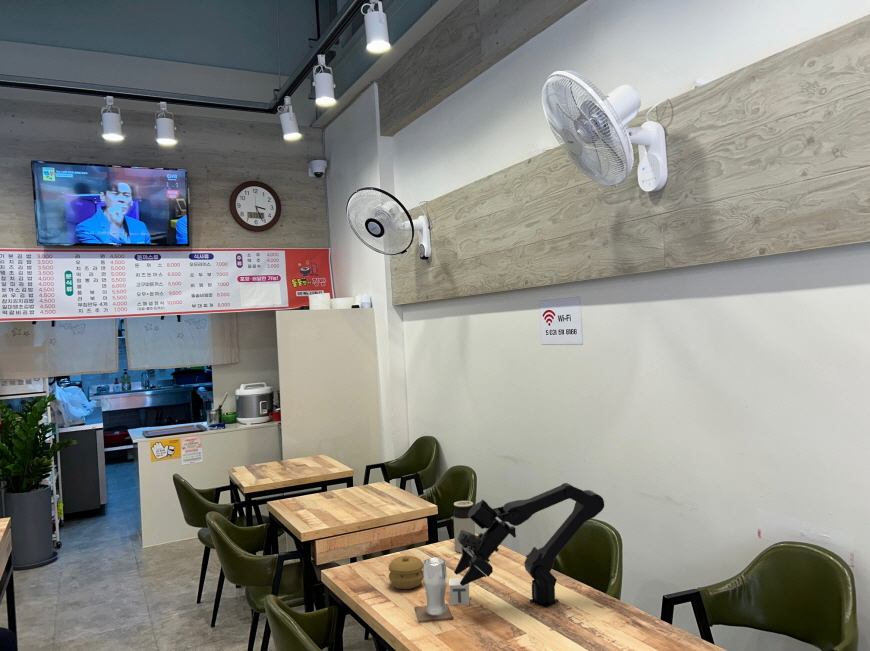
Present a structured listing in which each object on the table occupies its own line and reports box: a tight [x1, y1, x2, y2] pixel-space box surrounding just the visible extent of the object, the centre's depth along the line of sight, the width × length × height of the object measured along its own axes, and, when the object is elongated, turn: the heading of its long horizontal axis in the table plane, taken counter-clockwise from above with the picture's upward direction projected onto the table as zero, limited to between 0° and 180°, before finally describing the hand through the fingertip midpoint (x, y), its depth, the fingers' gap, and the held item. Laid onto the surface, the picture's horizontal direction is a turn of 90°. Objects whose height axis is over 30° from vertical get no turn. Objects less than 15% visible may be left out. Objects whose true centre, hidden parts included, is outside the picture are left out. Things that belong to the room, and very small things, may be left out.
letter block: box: [448, 577, 470, 606], centre depth 201 cm, size 6×6×6 cm
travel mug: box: [452, 500, 476, 554], centre depth 249 cm, size 8×8×18 cm
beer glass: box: [422, 557, 448, 616], centre depth 192 cm, size 7×7×15 cm
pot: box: [388, 555, 423, 590], centre depth 215 cm, size 12×12×10 cm
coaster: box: [414, 603, 454, 624], centre depth 192 cm, size 10×10×1 cm
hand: (458, 578), depth 193 cm, fingers open, 9 cm apart
